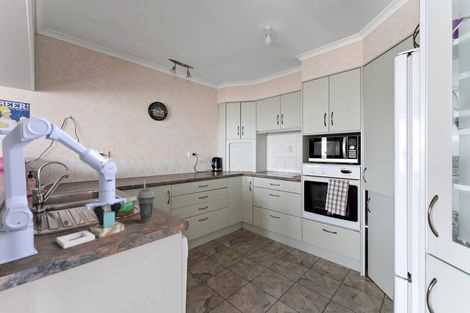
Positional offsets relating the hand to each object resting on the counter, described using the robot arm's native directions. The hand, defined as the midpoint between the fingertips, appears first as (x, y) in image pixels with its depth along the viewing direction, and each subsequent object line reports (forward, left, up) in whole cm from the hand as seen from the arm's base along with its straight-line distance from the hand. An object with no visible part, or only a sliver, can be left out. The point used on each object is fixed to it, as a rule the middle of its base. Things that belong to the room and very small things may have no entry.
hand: (107, 223), depth 82 cm
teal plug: (0, 0, -3) cm, 3 cm away
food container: (+13, +16, -4) cm, 21 cm away
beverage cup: (+16, -1, -4) cm, 16 cm away
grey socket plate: (-10, 0, -3) cm, 11 cm away
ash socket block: (0, 0, -3) cm, 3 cm away
